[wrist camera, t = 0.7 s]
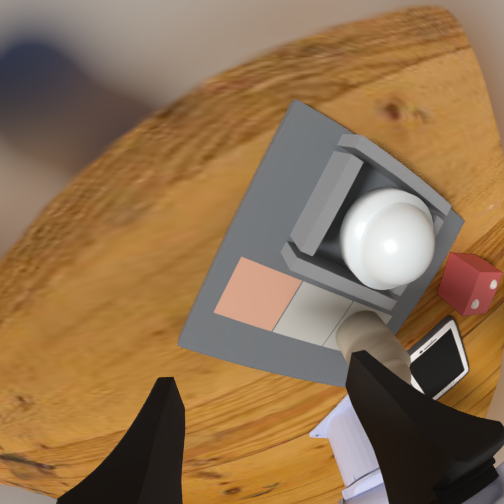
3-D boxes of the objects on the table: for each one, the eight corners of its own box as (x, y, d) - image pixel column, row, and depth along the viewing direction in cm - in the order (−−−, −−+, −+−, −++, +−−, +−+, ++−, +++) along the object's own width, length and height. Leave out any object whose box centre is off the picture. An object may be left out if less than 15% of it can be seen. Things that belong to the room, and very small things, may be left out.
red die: (475, 254, 22) (506, 274, 18) (462, 292, 23) (489, 315, 19) (450, 252, 21) (483, 274, 17) (436, 293, 23) (465, 318, 19)
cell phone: (424, 403, 31) (427, 408, 30) (391, 359, 26) (396, 365, 25) (466, 367, 30) (470, 371, 29) (448, 310, 25) (454, 315, 24)
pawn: (389, 317, 22) (435, 375, 15) (361, 354, 23) (397, 415, 16) (354, 304, 21) (400, 368, 14) (325, 345, 22) (359, 413, 15)
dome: (424, 209, 17) (471, 233, 12) (382, 282, 18) (419, 321, 14) (362, 166, 15) (409, 180, 11) (316, 252, 17) (347, 291, 13)
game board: (457, 217, 20) (484, 231, 17) (348, 381, 26) (360, 407, 22) (291, 101, 16) (309, 94, 13) (178, 337, 21) (174, 369, 18)
